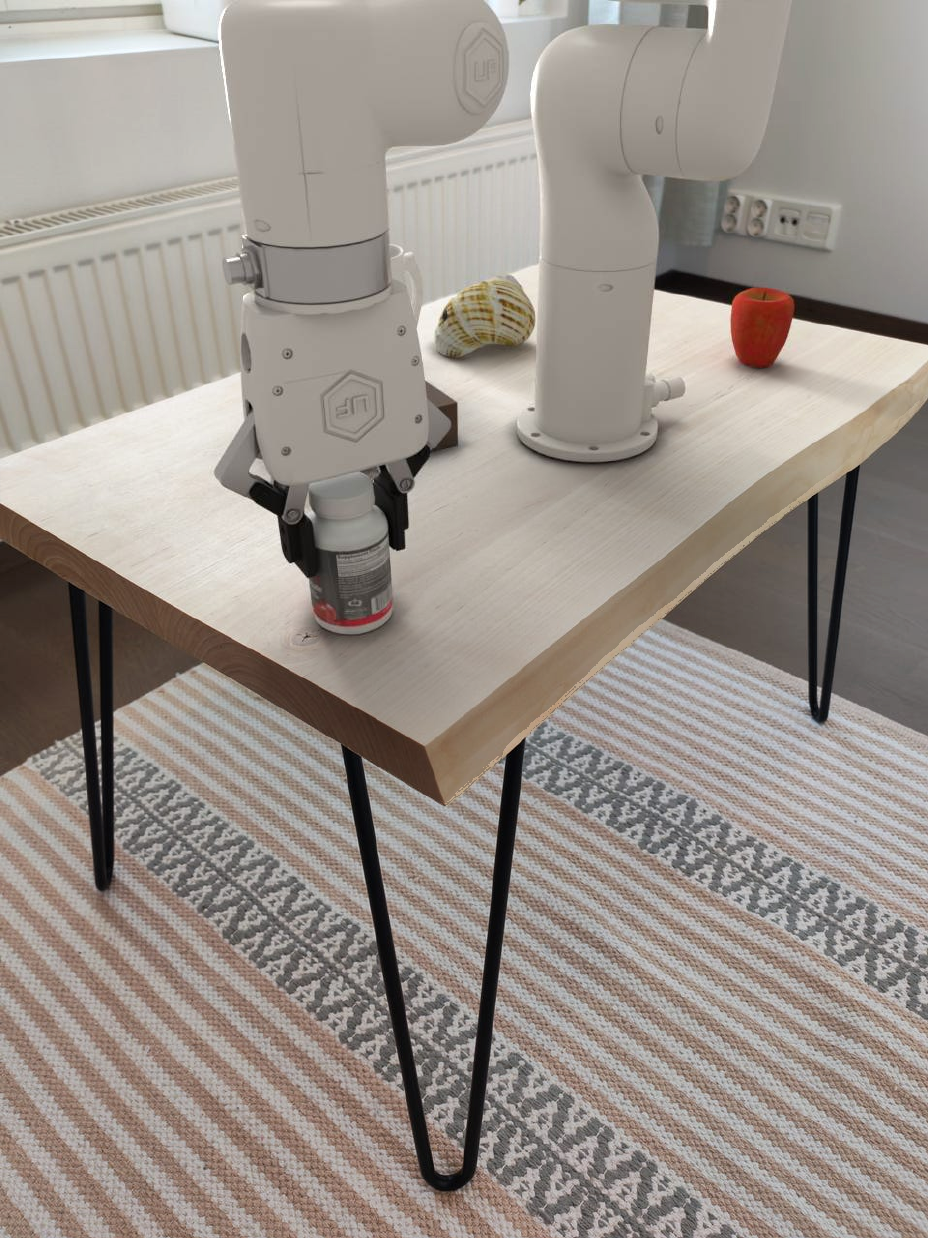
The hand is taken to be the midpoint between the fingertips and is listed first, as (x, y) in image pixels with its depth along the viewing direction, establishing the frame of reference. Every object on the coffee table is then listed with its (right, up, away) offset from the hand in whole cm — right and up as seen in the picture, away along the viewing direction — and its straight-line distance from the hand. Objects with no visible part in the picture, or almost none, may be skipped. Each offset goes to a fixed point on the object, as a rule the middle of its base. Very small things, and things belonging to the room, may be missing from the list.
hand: (347, 551), depth 63 cm
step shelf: (-2, +12, +25) cm, 27 cm away
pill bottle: (0, -4, +3) cm, 5 cm away
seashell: (+10, +25, +44) cm, 52 cm away
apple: (+38, +22, +39) cm, 59 cm away
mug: (0, +22, +39) cm, 45 cm away
